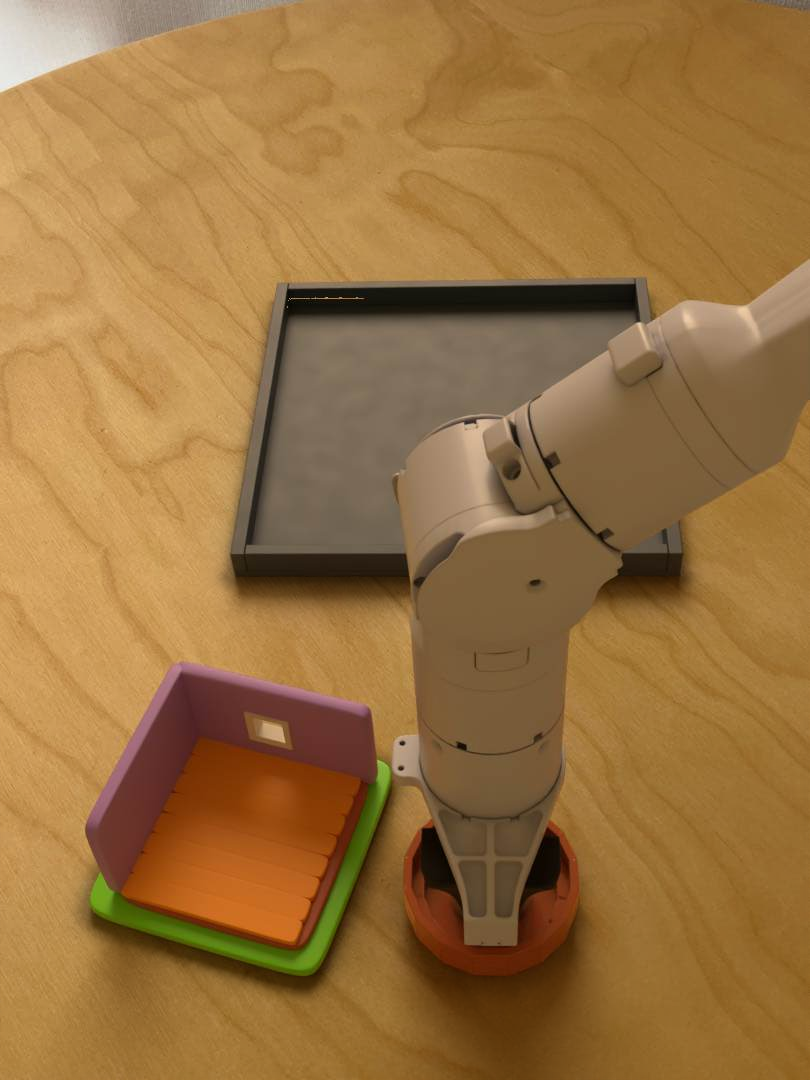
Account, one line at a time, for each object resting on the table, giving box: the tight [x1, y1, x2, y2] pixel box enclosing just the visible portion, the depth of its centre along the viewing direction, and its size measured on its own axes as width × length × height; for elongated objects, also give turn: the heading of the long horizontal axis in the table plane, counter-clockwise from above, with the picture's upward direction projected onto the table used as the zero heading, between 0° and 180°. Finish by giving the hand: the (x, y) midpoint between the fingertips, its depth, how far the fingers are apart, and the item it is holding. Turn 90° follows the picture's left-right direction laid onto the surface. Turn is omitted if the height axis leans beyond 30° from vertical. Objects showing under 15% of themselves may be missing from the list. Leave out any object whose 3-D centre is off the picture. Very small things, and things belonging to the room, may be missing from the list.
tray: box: [229, 276, 684, 577], centre depth 85 cm, size 26×26×2 cm
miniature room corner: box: [84, 661, 393, 977], centre depth 63 cm, size 12×12×7 cm
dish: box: [402, 817, 580, 976], centre depth 62 cm, size 8×8×2 cm
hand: (490, 868), depth 61 cm, fingers closed on bottle, 4 cm apart
